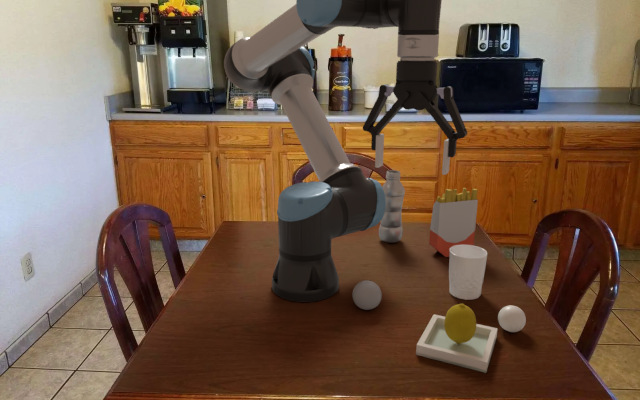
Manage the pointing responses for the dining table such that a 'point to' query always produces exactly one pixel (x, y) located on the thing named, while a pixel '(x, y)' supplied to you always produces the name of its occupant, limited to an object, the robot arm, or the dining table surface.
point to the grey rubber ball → (367, 295)
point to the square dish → (457, 346)
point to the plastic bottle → (392, 208)
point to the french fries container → (453, 220)
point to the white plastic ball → (511, 318)
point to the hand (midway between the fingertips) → (411, 169)
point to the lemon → (460, 323)
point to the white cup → (466, 271)
